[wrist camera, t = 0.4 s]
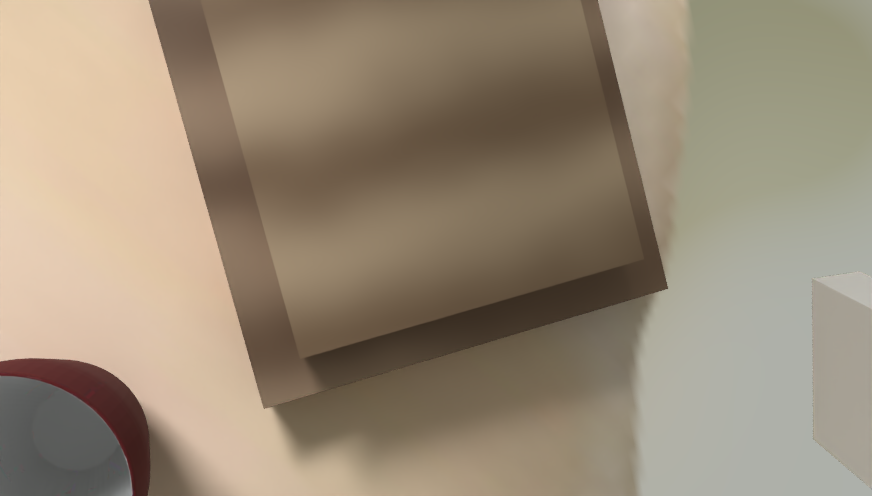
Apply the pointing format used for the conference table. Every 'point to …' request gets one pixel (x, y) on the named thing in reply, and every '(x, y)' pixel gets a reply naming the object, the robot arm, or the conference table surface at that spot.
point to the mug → (70, 431)
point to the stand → (406, 175)
